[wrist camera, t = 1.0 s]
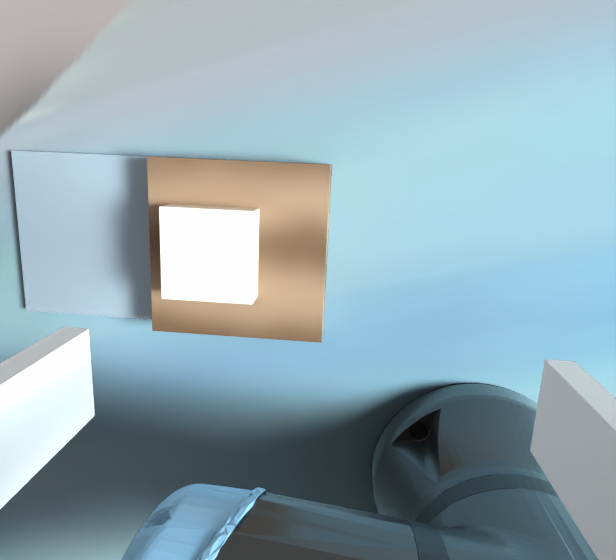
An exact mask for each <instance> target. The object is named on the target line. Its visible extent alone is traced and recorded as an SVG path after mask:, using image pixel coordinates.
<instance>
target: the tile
mask: <svg viewBox="0 0 616 560" xmlns="http://www.w3.org/2000/svg"><path fill="white" fill-rule="evenodd" d="M259 210H260V209H259V208H240V207H220V206H201V205H181V204H168V205H163V206H159V223H160V260H161V296H162V299H173V300H188V301H204V302H219V303H234V304H250V305H252V304H253V303H254V301H255V300H256V298H257V297H258V261H259Z"/></svg>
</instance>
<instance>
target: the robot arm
mask: <svg viewBox="0 0 616 560" xmlns="http://www.w3.org/2000/svg"><path fill="white" fill-rule="evenodd" d="M94 416H95V411H94V397H93V383H92V368H91V354H90V339H89V329H84V328H69V327H62V328H61V329H59V330H57V331H55V332H54V333H52V334H50V335H49V336H47V337H45V338H43V339H42V340H40V341H38V342H36V343H35V344H33V345H31V346H29V347H28V348H26V349H24V350H22V351H21V352H19V353H17V354H15V355H14V356H12V357H10V358H8V359H7V360H5V361H3V362H1V363H0V509H1V508H2V507H3V506H4V505H5V504H6V503H7V502H8V501H9V500H10V499H11V498H12V497H13V496H14V495H15V494H16V493H17V492H18V491H19V490H20V489H21V488H22V487H23V486H24V485H25V484H26V483H27V482H28V481H29V480H30V479H31V478H32V477H33V476H34V475H35V474H36V473H37V472H38V471H39V470H40V469H41V468H42V467H43V466H44V465H45V464H46V463H48V462H49V461H50V460H51V459H52V458H53V457H54V456H55V455H56V454H57V453H58V452H59V451H60V450H61V449H62V448H63V447H64V446H65V445H66V444H67V443H68V442H69V441H70V440H71V439H72V438H73V437H74V436H75V435H76V434H77V433H78V432H79V431H80V430H81V429H82V428H83V427H84V426H85V425H86V424H87V423H88V422H89V421H90V420H91V419H92V418H93V417H94ZM372 479H373V492H374V499H375V503H376V507H377V510H378V513H379V514H377V513H372V512H367V511H362V510H356V509H351V508H346V507H341V506H335V505H330V504H325V503H320V502H315V501H309V500H304V499H299V498H294V497H288V496H283V495H278V494H273V493H268V492H267V490H265V489H264V488H259V487H257V488H255V489H253V490H247V489H240V488H232V487H225V486H217V485H210V484H191V485H188V486H185V487H182V488H180V489H178V490H176V491H175V492H173V493H172V494H170V495H169V496H168V497H167V498H166V499H165V500H163V501H162V502H161V503H160V504H159V506H158V507H157V508H156V509H155V510H154V511H153V512H152V513H151V515H150V516H149V517H148V519H147V520H146V521H145V523H144V524H143V526H142V527H141V529H140V530H139V532H138V533H137V534H136V536H135V537H134V539H133V541H132V542H131V544H130V546H129V547H128V549H127V551H126V552H125V554H124V556H123V557H122V559H121V560H616V398H615V397H614V396H613V395H612V394H611V393H610V392H608V391H607V390H606V389H605V388H604V387H603V386H602V385H601V384H599V383H598V382H597V381H596V380H595V379H594V378H593V377H592V376H590V375H589V374H588V373H587V372H586V371H585V370H584V369H583V368H581V367H580V366H579V365H578V364H577V363H576V362H575V361H562V360H547V359H545V362H544V368H543V374H542V381H541V387H540V393H539V399H538V405H537V404H536V403H534V402H533V401H531V400H530V399H528V398H526V397H525V396H523V395H521V394H519V393H516V392H514V391H511V390H508V389H505V388H502V387H498V386H493V385H486V384H460V385H453V386H448V387H444V388H440V389H437V390H434V391H431V392H429V393H427V394H425V395H422V396H421V397H419V398H417V399H415V400H414V401H412V402H411V403H409V404H408V405H406V406H405V407H404V408H403V409H402V410H400V411H399V412H398V413H397V414H396V415H395V416H394V417H393V418H392V420H391V421H390V422H389V423H388V425H387V426H386V428H385V429H384V431H383V432H382V434H381V436H380V438H379V440H378V443H377V445H376V449H375V452H374V457H373V463H372Z"/></svg>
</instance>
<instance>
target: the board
mask: <svg viewBox="0 0 616 560" xmlns="http://www.w3.org/2000/svg"><path fill="white" fill-rule="evenodd" d="M147 174H148V205H149V236H150V267H151V298H152V329H153V331H165V332H179V333H193V334H208V335H222V336H236V337H250V338H265V339H279V340H293V341H308V342H321V340H322V334H323V327H324V308H325V289H326V270H327V252H328V233H329V214H330V195H331V176H332V165H329V164H306V163H284V162H261V161H238V160H216V159H193V158H170V157H147ZM168 204H181V205H201V206H220V207H240V208H259V209H260V210H259V261H258V297H257V298H256V300H255V301H254V303H253V304H252V305H250V304H234V303H219V302H204V301H188V300H173V299H162V296H161V260H160V223H159V206H163V205H168Z"/></svg>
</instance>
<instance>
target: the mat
mask: <svg viewBox="0 0 616 560" xmlns="http://www.w3.org/2000/svg"><path fill="white" fill-rule="evenodd" d="M11 155H12V166H13V176H14V187H15V198H16V208H17V219H18V229H19V240H20V251H21V261H22V272H23V283H24V293H25V304H26V311H36V312H51V313H66V314H80V315H95V316H110V317H124V318H139V319H152V298H151V267H150V236H149V205H148V174H147V157H148V156H125V155H102V154H80V153H57V152H34V151H12V150H11Z"/></svg>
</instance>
